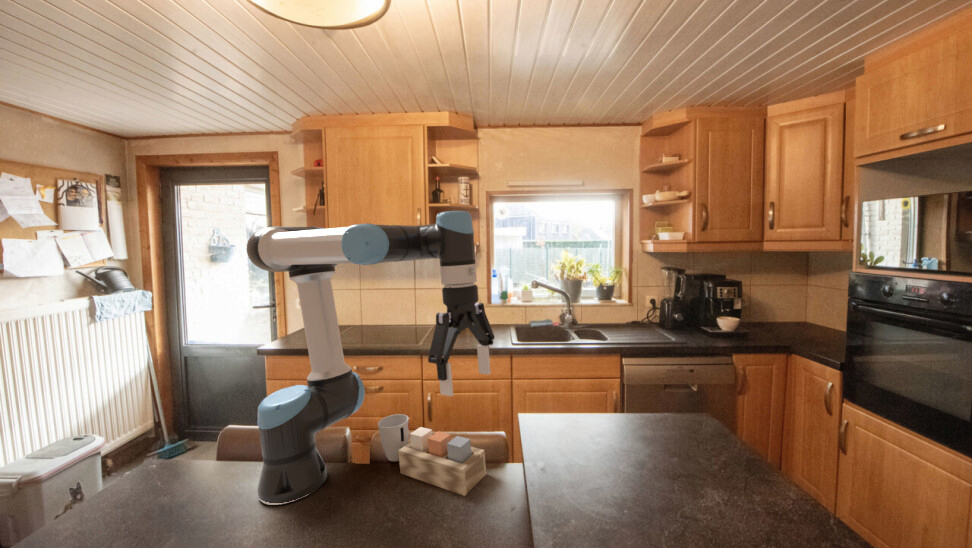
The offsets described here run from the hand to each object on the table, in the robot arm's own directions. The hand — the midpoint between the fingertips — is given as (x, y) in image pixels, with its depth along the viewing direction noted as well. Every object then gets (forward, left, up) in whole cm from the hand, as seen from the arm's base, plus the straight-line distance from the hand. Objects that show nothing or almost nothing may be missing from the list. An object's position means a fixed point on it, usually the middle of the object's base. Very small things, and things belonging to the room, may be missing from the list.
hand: (467, 383), depth 80 cm
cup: (-30, +5, -26) cm, 40 cm away
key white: (-19, +4, -22) cm, 30 cm away
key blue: (-7, +4, -22) cm, 24 cm away
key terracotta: (-13, +4, -22) cm, 26 cm away
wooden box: (-13, +4, -26) cm, 29 cm away
